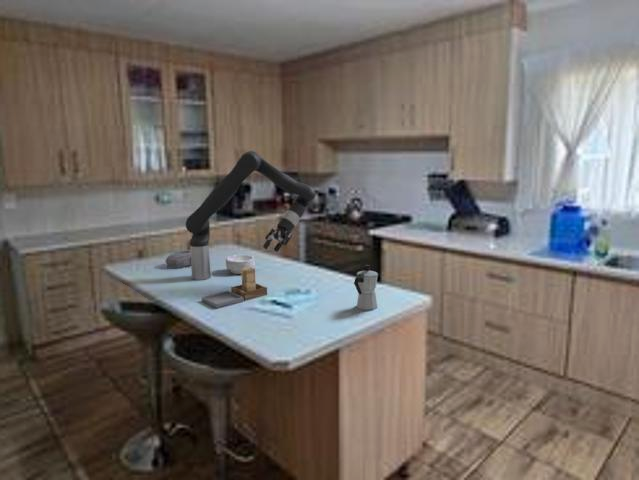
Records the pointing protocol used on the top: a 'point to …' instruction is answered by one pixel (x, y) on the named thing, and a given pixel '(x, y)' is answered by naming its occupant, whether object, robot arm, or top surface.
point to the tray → (222, 299)
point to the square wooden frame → (250, 292)
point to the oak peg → (248, 279)
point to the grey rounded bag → (179, 259)
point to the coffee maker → (366, 289)
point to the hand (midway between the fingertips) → (269, 249)
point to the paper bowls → (239, 263)
